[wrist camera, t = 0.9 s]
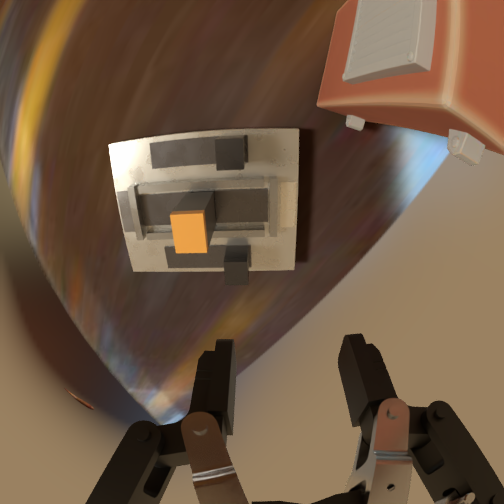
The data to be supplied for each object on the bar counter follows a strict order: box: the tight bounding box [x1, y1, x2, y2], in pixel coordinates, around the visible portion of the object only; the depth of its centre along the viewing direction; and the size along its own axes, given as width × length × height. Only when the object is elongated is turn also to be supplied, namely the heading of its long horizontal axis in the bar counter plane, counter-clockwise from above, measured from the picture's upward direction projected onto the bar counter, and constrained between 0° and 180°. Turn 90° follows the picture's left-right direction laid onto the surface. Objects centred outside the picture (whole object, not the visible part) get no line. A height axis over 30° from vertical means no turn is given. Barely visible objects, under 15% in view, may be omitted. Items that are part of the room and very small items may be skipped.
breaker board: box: [109, 128, 299, 285], centre depth 28 cm, size 16×20×6 cm
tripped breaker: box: [170, 192, 216, 253], centre depth 25 cm, size 4×3×6 cm
